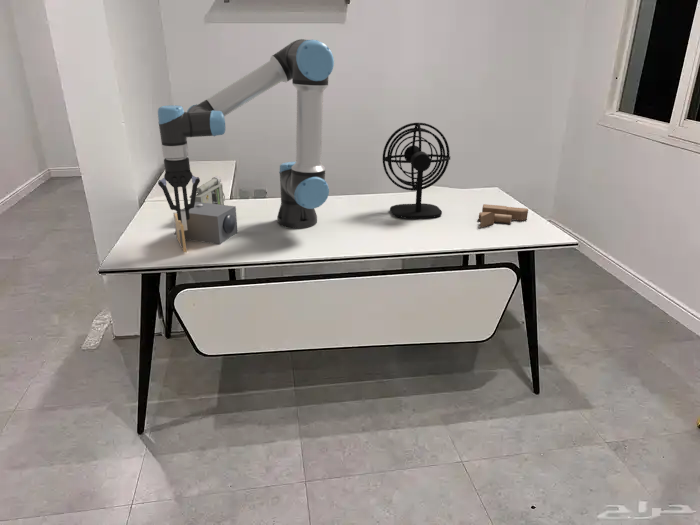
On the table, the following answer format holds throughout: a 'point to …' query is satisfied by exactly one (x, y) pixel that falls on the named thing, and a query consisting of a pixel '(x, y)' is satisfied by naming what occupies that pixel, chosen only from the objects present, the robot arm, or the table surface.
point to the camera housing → (211, 223)
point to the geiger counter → (211, 192)
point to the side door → (180, 232)
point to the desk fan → (419, 163)
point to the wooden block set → (501, 214)
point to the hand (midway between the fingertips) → (185, 229)
